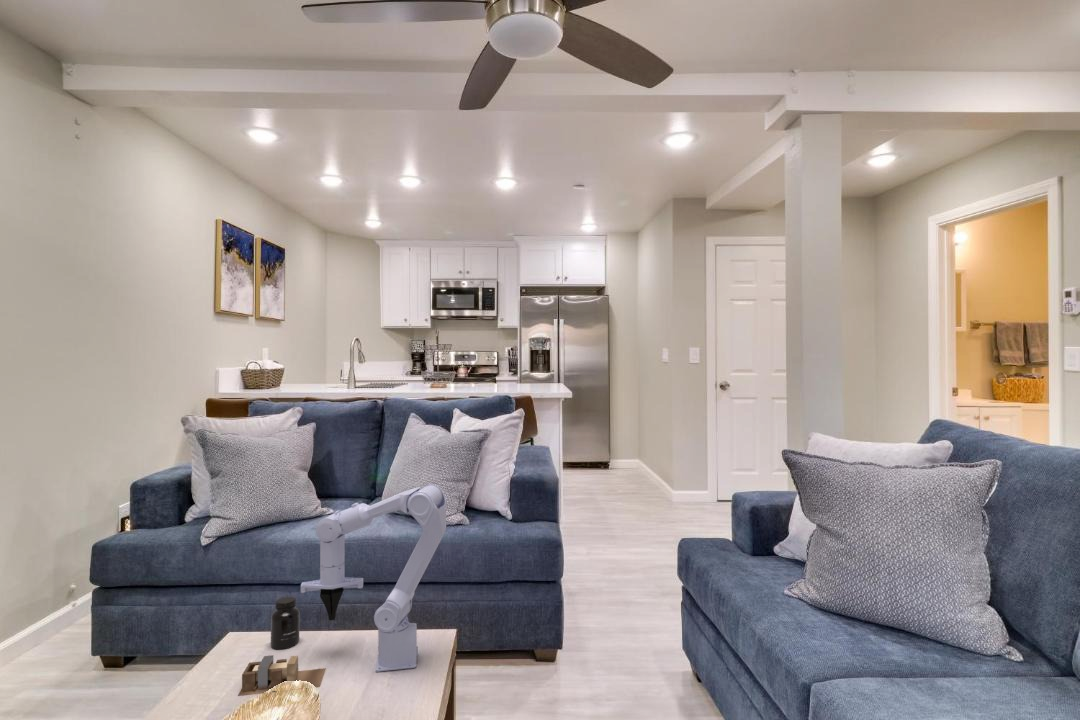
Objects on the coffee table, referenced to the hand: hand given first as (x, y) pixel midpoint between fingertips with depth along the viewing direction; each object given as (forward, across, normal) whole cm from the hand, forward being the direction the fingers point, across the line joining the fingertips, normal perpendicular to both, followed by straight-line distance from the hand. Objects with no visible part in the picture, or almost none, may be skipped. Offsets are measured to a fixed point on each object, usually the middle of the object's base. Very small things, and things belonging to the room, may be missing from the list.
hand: (332, 618), depth 140 cm
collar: (+9, +13, +10) cm, 19 cm away
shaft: (+9, +11, +10) cm, 17 cm away
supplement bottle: (+10, +13, -9) cm, 19 cm away
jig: (+10, +9, +10) cm, 17 cm away
